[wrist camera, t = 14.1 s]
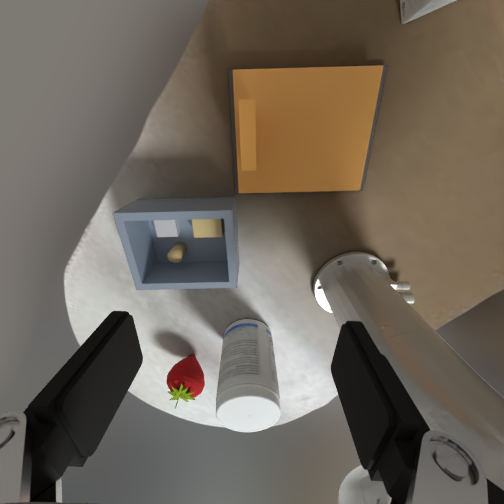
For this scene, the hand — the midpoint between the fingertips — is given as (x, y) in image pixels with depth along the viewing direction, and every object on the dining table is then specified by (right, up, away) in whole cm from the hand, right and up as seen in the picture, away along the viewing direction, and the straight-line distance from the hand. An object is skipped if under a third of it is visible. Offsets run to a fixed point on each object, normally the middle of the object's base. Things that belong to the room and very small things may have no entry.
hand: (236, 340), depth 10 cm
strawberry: (-12, -18, +37) cm, 43 cm away
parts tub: (-9, +7, +25) cm, 27 cm away
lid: (+7, +19, +18) cm, 27 cm away
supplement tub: (0, -12, +35) cm, 37 cm away
